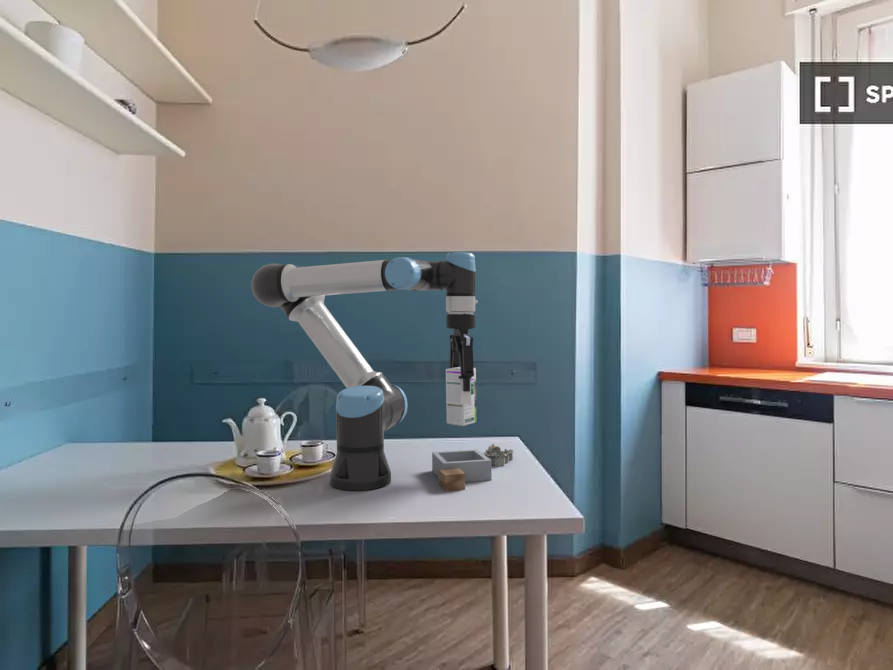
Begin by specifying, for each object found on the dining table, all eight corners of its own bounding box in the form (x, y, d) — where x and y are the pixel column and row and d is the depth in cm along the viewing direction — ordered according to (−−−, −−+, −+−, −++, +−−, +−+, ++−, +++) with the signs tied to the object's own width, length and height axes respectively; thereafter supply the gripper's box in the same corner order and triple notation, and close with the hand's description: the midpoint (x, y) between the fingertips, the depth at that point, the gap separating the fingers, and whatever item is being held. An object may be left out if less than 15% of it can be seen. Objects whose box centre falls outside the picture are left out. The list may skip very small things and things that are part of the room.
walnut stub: (445, 491, 151) (445, 475, 151) (439, 486, 156) (439, 470, 156) (465, 490, 153) (465, 473, 152) (458, 484, 157) (458, 468, 157)
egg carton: (492, 457, 186) (492, 443, 186) (516, 459, 182) (517, 445, 182) (477, 464, 177) (477, 450, 176) (502, 468, 173) (502, 453, 173)
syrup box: (464, 426, 160) (464, 369, 160) (445, 423, 164) (445, 367, 163) (476, 422, 165) (476, 367, 164) (458, 420, 169) (458, 365, 168)
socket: (443, 483, 158) (443, 463, 157) (432, 470, 170) (432, 452, 169) (491, 479, 161) (491, 460, 160) (477, 467, 173) (477, 449, 173)
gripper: (487, 313, 154) (487, 407, 155) (464, 312, 174) (464, 395, 175) (457, 313, 152) (457, 408, 153) (437, 312, 172) (437, 396, 173)
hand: (461, 401), depth 164 cm, fingers closed on syrup box, 8 cm apart
